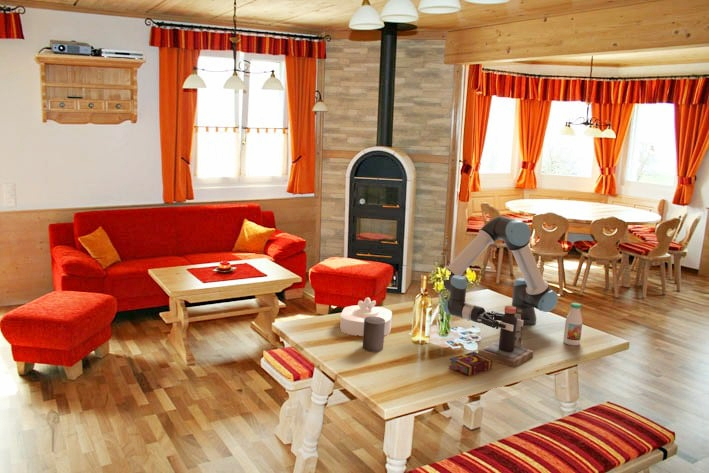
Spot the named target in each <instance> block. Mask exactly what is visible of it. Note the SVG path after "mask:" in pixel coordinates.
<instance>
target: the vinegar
mask: <svg viewBox="0 0 709 473" xmlns="http://www.w3.org/2000/svg"><path fill="white" fill-rule="evenodd" d="M515 313H516V307H514V306H512V305H506V306H504V313H503V314H504V315H503V316H502V319H501V322H504V323H508V324H511V325H514V327H513V331H509V330H506V329H502V328H499V329H500V331H499V339H498V340H499V349H500V350H502V351H506V352H511V351H513V350H514V344H515V334H516V325H517V318H516V317H515Z"/></svg>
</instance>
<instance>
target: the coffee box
mask: <svg viewBox="0 0 709 473" xmlns="http://www.w3.org/2000/svg"><path fill="white" fill-rule="evenodd" d="M515 317H516V318H517V319H519V320H523V318H524V312H523V309H521V308H516V313H515ZM523 328H524V325H523V326H522V327H521V326H518V325H516V334H515V344H514V345H516V346H519V347H521V345H522V344H521V343H522V335H523Z"/></svg>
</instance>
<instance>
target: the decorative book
mask: <svg viewBox="0 0 709 473" xmlns="http://www.w3.org/2000/svg"><path fill="white" fill-rule="evenodd" d="M449 361H450V365H448V369H450V370H454V371H457V372H459V373H461V374H463V375H465V376H467V377H468V376H469V377H470V376H476V375H477V374H479V373H482V372H483V373H485V372H487V371H488V370H491V369H492V365H493V360H490V359H488V358H486V357H484V356H481V355H480V354H478V352H476V351H471V352H467V353H465V354H464V353H462V354H460V355H459V356H452V357H449Z"/></svg>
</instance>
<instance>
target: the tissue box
mask: <svg viewBox="0 0 709 473" xmlns="http://www.w3.org/2000/svg"><path fill="white" fill-rule="evenodd" d="M371 300H372V299H371V298H370V297H365V298H364V301H363V300H358V302H357V305H350V306H349V305H348V306H345V307H344V308H343V309H342V311H341V313H340V321H339V322H340V326H339V327H340V328H339V329H341V330H340V331H341V332H342V333H343V332H344V334H346V333H347V334H346V335H350V334H351V335H352V336H357V335H359V336H360V337H363V332H364V319H365V318H366V317H371V316H374V317H380V318H383V319H384V320H385V329H384V337H386V336H388V335H390V333H391V329H392V323H393V322H392V319H393V311H392V310H390V309H388V308H385V307H381V306H376V304H377V302H376V300H375V299H374V300H372V301H371ZM351 335H350V336H351Z"/></svg>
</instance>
